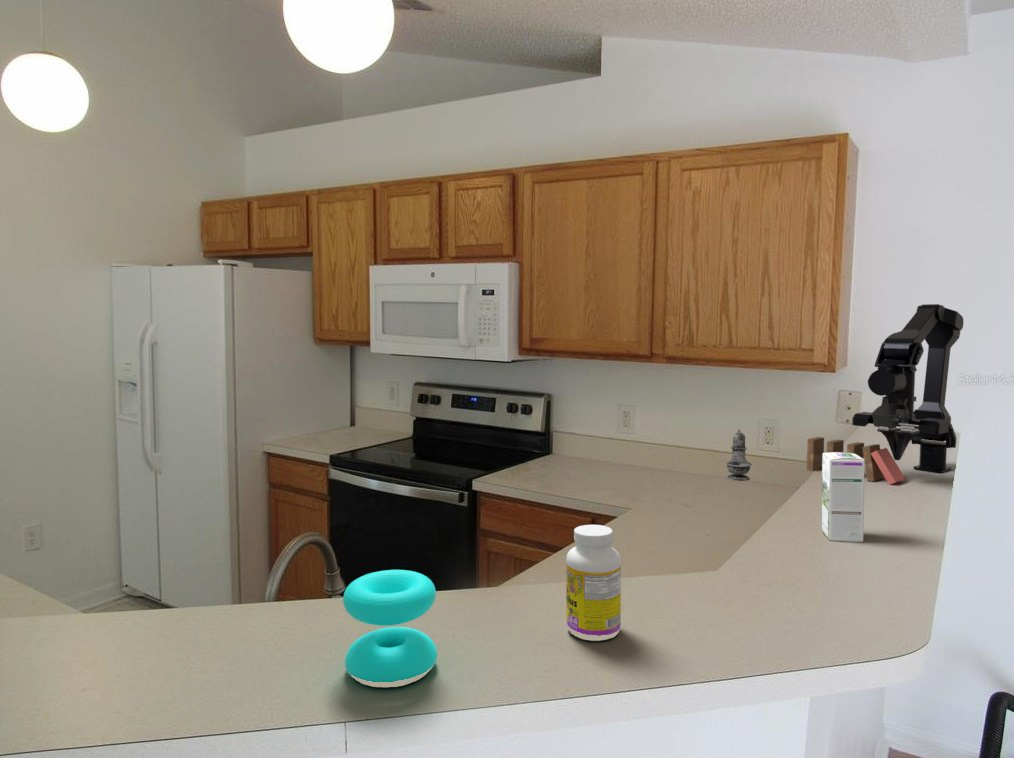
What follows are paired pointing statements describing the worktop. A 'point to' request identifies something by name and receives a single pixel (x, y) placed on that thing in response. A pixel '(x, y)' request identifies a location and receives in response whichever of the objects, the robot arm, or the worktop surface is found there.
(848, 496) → the syrup box
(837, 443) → the domino
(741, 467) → the salt shaker
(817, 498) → the worktop surface
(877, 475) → the domino
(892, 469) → the domino
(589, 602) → the supplement bottle
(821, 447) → the domino
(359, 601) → the teal rings
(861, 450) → the domino
